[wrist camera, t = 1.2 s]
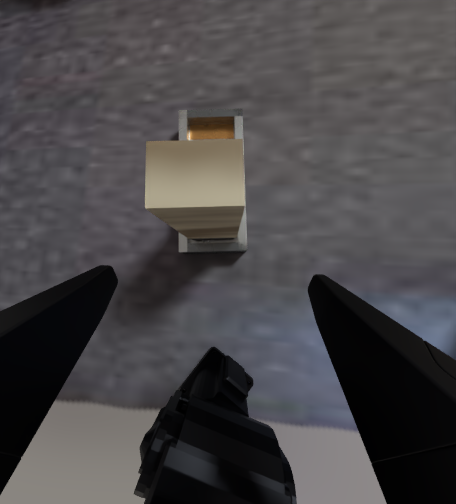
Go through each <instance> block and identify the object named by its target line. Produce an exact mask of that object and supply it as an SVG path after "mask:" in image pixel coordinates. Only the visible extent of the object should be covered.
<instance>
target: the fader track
mask: <svg viewBox="0 0 456 504" xmlns="http://www.w3.org/2000/svg"><path fill="white" fill-rule="evenodd" d="M217 139H243V119H242V109H216V110H180V111H179V141H181V140H217ZM243 160H244V146H243ZM244 188H245V174H244ZM246 251H247V229H246V202H245V208H244V212H243V216H242V219H241V223H240V227H239V231H238V234H237V238H234V239H226V240H192V239H188V238H187V237H185V236H184V235H182V234H181V233H179V252H180V253H183V254H196V253H235V252H246Z"/></svg>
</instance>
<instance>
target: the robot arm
mask: <svg viewBox="0 0 456 504" xmlns="http://www.w3.org/2000/svg"><path fill="white" fill-rule="evenodd" d="M117 284H118V279H117V276H116V274H115V272H114V269H113V268H112V267H111V266H108V265H100V266H98V267H95V268H93V269H91V270H89V271H87V272H85V273H82V274H80V275H78V276H76V277H74V278H72V279H69V280H67V281H65V282H63V283H61V284H59V285H56V286H54V287H52V288H50V289H48V290H46V291H43V292H41V293H39V294H37V295H35V296H33V297H30V298H28V299H26V300H24V301H22V302H20V303H17V304H15V305H13V306H11V307H9V308H7V309H4V310H2V311H0V495H1V493H2V491H3V489H4V487H5V486H6V484H7V482H8V480H9V479H10V477H11V476H12V474H13V472H14V470H15V469H16V467H17V465H18V463H19V462H20V460H21V457H22V456H23V454H24V453H25V451H26V449H27V448H28V446H29V444H30V442H31V441H32V438H33V437H34V435H35V434H36V432H37V430H38V428H39V427H40V425H41V423H42V421H43V420H44V418H45V416H46V415H47V413H48V411H49V409H50V408H51V406H52V404H53V402H54V401H55V399H56V397H57V395H58V394H59V392H60V390H61V389H62V387H63V385H64V383H65V382H66V380H67V378H68V376H69V375H70V373H71V371H72V369H73V368H74V366H75V364H76V363H77V361H78V359H79V357H80V356H81V354H82V352H83V350H84V349H85V347H86V345H87V343H88V342H89V340H90V338H91V337H92V335H93V333H94V331H95V330H96V328H97V326H98V324H99V323H100V321H101V319H102V317H103V315H104V313H105V311H106V309H107V307H108V304H109V302H110V300H111V298H112V296H113V293H114V291H115V289H116V287H117ZM308 294H309V298H310V301H311V305H312V309H313V312H314V316H315V320H316V323H317V326H318V328H319V331H320V334H321V336H322V339H323V341H324V344H325V346H326V349H327V351H328V354H329V357H330V359H331V362H332V364H333V367H334V369H335V372H336V374H337V377H338V379H339V382H340V385H341V387H342V390H343V392H344V395H345V397H346V400H347V402H348V405H349V408H350V410H351V413H352V415H353V418H354V420H355V423H356V425H357V428H358V431H359V433H360V436H361V438H362V441H363V443H364V446H365V448H366V451H367V454H368V456H369V459H370V461H371V463H372V467H373V469H374V472H375V474H376V477H377V480H378V482H379V485H380V487H381V490H382V492H383V495H384V497H385V500H386V503H387V504H456V360H454V359H453V358H451V357H450V356H448V355H446V354H445V353H443V352H442V351H440V350H439V349H437V348H436V347H434V346H433V345H431V344H430V343H428V342H427V341H423V339H422V338H420V337H419V336H417V335H416V334H414V333H413V332H411V331H410V330H408V329H407V328H405V327H403V326H402V325H400V324H399V323H397V322H396V321H394V320H393V319H391V318H390V317H388V316H387V315H385V314H384V313H382V312H381V311H379V310H377V309H376V308H374V307H373V306H371V305H370V304H368V303H367V302H365V301H364V300H362V299H361V298H359V297H358V296H356V295H354V294H353V293H351V292H350V291H348V290H347V289H345V288H344V287H342V286H341V285H339V284H338V283H336V282H335V281H333V280H332V279H330V278H328V277H327V276H325V275H320V274H316V275H314V276H313V277H312V280H311V282H310V284H309V286H308ZM213 350H214V351H215V353H212V351H213ZM248 381H251V382H250V383H248ZM252 386H253V379H252V377H250V376H249V375H248V374H247V373H246V372H245V371H244V368H243V367H242V366H240V365H239V364H238V363H237V362H236V361H234V360H233V359H232V358H231V357H230V356H225V355H224V354H223V353H222V352H221V351H220V350H218V349H217V348H216V347H211V348H210V350H209V351H208V352H207V353H206V355H205V356H204V357H203V359H202V360H201V361H200V363H199V364H198V365H197V366H196V368H195V369H194V370H193V372H192V373H191V374H190V376H189V377H188V378H187V379H186V381H185V382H184V383H183V385H182V386H181V388H180V391H178V390H176V392H175V394H174V396H171V398H170V400H169V402H168V404H167V406H166V407H164V408H162V409H161V410H160V412H159V414H158V416H157V418H156V420H155V422H154V424H153V426H152V427H151V429H150V430H149V431H148V432H147V433H146V434H145V436H144V438H143V441H142V443H141V445H140V453H141V461H142V464H141V467H140V469H139V473H140V474H141V475H140V478H139V480H138V483H137V486H136V489H135V491H134V494H135V495H137V496H139V497H142V498H145V499H146V500H145V502H144V504H297V503H296V491H295V484H294V480H293V474H292V470H291V467H290V465H289V462H288V460H287V458H286V457H285V455H284V453H283V452H282V450H281V448H280V447H279V444H278V440H277V438H276V436H275V433H274V431H273V429H272V428H271V427H270V426H268V425H266V424H264V423H262V422H259V421H257V420H254V419H252V418H249V415H248V408H247V400H246V398H247V397H248V391H249V390H250V389H251V387H252ZM184 388H185V389H186V390H183V389H184Z"/></svg>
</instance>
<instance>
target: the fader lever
mask: <svg viewBox="0 0 456 504" xmlns="http://www.w3.org/2000/svg"><path fill="white" fill-rule="evenodd" d="M244 208H245V188H244V160H243V139H217V140H181V141H146V185H145V209H147V210H148V211H150V212H151V213H152V214H154V215H155V216H157V217H158V218H159V219H161V220H162V221H164V222H165V223H167V224H168V225H169V226H171V227H172V228H174V229H175V230H177V231H178V232H179V233H181V234H182V235H184V236H185V237H187V238H188V239H192V240H226V239H234V238H237V234H238V231H239V227H240V223H241V219H242V216H243V212H244Z"/></svg>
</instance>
